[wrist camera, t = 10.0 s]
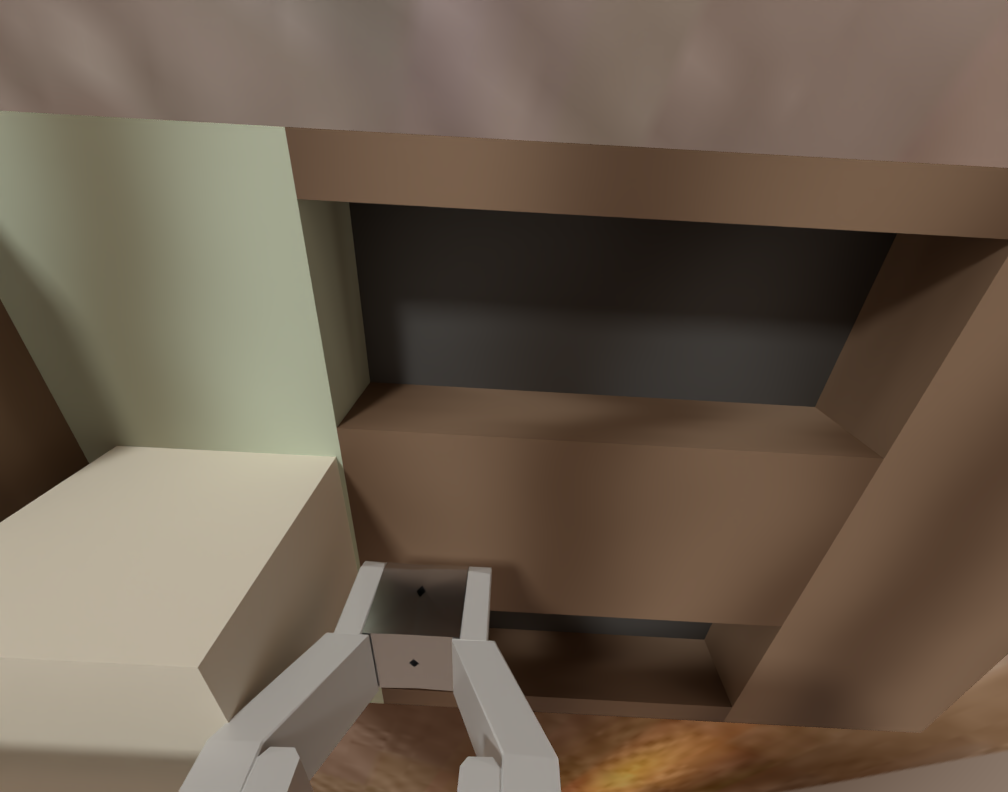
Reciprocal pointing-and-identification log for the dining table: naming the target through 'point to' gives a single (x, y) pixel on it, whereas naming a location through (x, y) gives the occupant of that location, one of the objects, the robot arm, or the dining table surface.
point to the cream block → (159, 608)
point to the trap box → (557, 387)
